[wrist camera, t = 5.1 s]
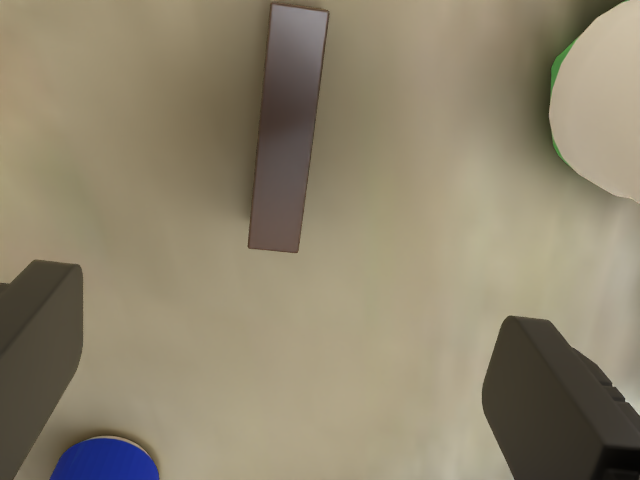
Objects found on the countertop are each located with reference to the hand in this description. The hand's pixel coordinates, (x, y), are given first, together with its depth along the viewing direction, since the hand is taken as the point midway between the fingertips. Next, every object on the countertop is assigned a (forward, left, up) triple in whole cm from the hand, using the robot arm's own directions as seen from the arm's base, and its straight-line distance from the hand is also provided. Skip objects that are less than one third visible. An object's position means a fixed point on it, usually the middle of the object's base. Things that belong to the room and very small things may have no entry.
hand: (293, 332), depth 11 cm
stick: (0, +1, -14) cm, 14 cm away
